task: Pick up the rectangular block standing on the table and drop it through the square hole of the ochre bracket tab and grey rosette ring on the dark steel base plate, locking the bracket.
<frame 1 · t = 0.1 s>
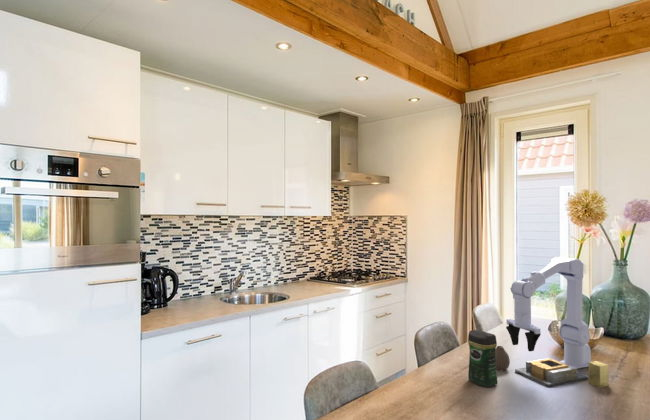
hand: (523, 347, 154), 10 cm above the table, fingers open, 7 cm apart
coffee jar: (482, 383, 146), on the table
rectangular block: (598, 384, 144), on the table
rosette base: (550, 375, 152), on the table
vase: (500, 369, 159), on the table
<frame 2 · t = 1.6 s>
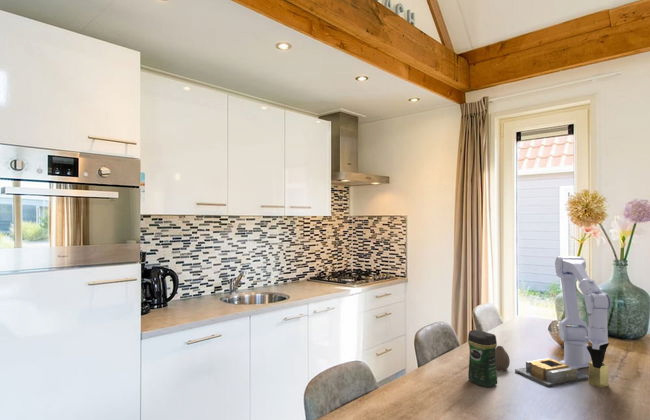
hand: (598, 364, 144), 7 cm above the table, fingers open, 7 cm apart
nothing on the table moved.
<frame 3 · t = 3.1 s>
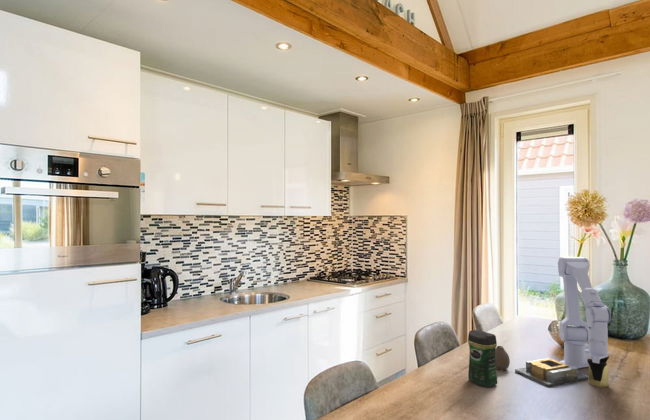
hand: (598, 377, 144), 2 cm above the table, fingers closed on rectangular block, 6 cm apart
rectangular block: (598, 384, 144), on the table, touching gripper
everything else where it was.
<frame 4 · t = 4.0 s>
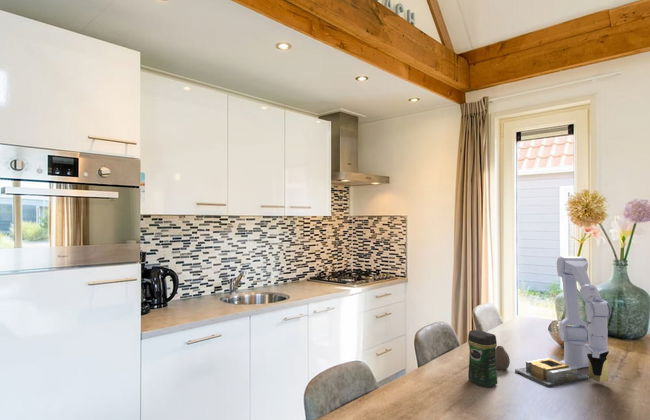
hand: (598, 372, 144), 4 cm above the table, fingers closed on rectangular block, 6 cm apart
rectangular block: (598, 379, 144), point 2 cm above the table, touching gripper
everything else where it was.
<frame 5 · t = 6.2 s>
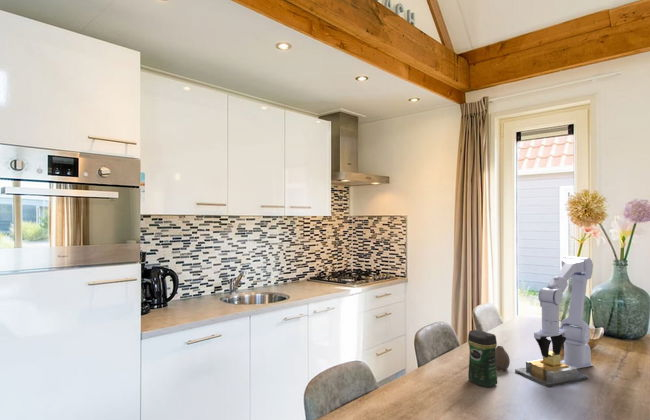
hand: (550, 355, 152), 8 cm above the table, fingers open, 5 cm apart
rectangular block: (551, 373, 152), point 1 cm above the table, touching rosette base
everything else where it was.
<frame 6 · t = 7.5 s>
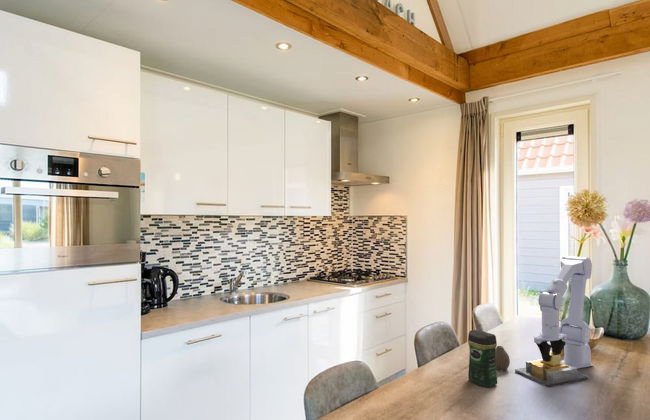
hand: (550, 360, 152), 6 cm above the table, fingers open, 5 cm apart
nothing on the table moved.
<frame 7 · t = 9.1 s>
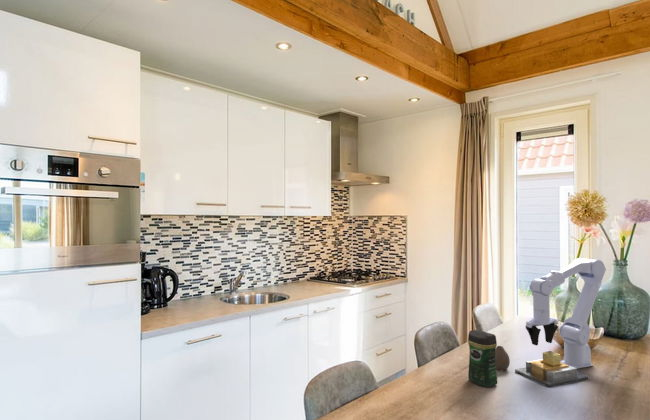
hand: (541, 343, 160), 10 cm above the table, fingers open, 7 cm apart
nothing on the table moved.
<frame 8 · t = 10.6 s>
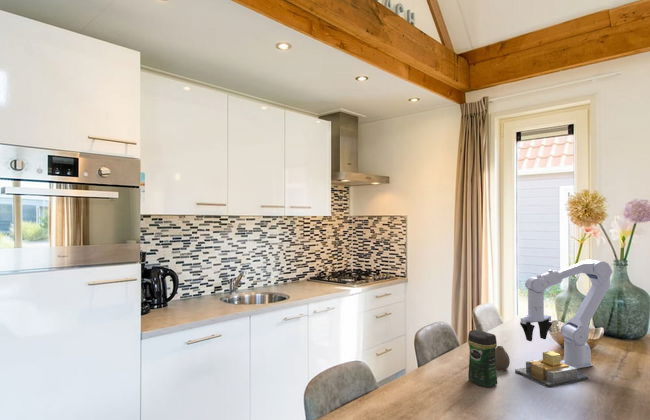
hand: (536, 339, 164), 10 cm above the table, fingers open, 7 cm apart
nothing on the table moved.
at the end: rectangular block 0.4 cm off-centre on the rosette base, point 1.0 cm above the rosette base's base; rectangular block tilted 0°; the gripper is holding nothing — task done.
